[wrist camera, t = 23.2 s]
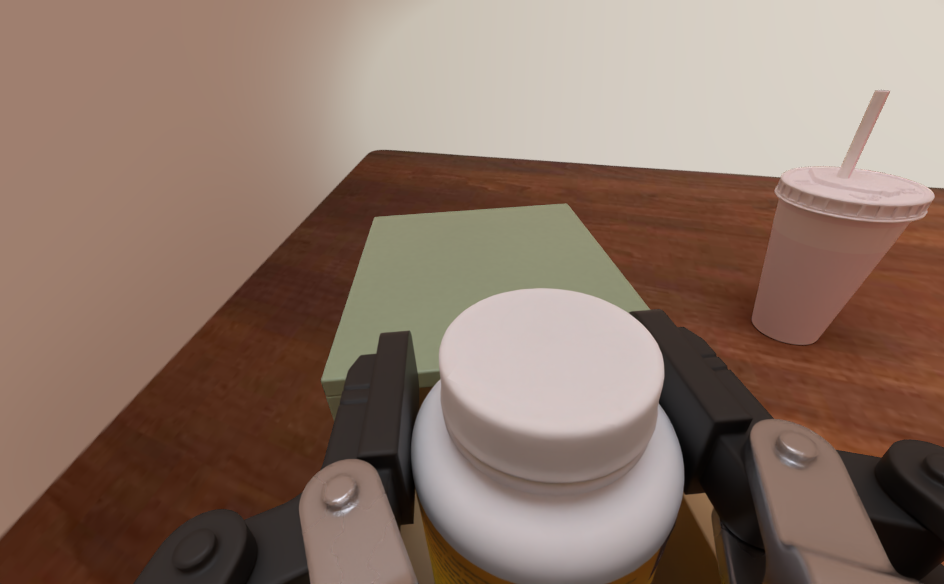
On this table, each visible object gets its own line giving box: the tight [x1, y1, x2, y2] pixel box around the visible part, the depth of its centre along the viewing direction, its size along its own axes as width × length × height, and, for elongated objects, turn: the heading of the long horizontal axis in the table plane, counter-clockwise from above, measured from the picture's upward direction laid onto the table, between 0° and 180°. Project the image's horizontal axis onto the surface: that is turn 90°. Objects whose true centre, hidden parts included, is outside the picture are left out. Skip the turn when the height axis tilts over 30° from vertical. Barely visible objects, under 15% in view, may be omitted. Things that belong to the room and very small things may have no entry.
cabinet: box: [321, 204, 650, 421], centre depth 22 cm, size 15×13×8 cm
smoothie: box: [751, 90, 934, 345], centre depth 23 cm, size 6×6×14 cm
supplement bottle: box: [411, 288, 684, 584], centre depth 10 cm, size 6×6×10 cm
